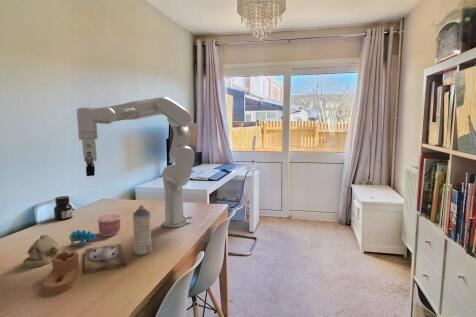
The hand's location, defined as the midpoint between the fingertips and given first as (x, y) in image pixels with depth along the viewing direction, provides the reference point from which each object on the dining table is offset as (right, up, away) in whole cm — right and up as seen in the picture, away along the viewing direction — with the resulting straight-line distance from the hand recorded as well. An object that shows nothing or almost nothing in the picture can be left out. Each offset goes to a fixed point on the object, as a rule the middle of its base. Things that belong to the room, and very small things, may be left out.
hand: (90, 174), depth 141 cm
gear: (-4, -32, 0) cm, 32 cm away
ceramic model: (-12, -34, -16) cm, 39 cm away
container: (+3, -30, +13) cm, 33 cm away
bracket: (+5, -36, -32) cm, 48 cm away
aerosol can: (+26, -33, -9) cm, 43 cm away
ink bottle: (-33, -27, +37) cm, 56 cm away
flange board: (+12, -33, -15) cm, 39 cm away
